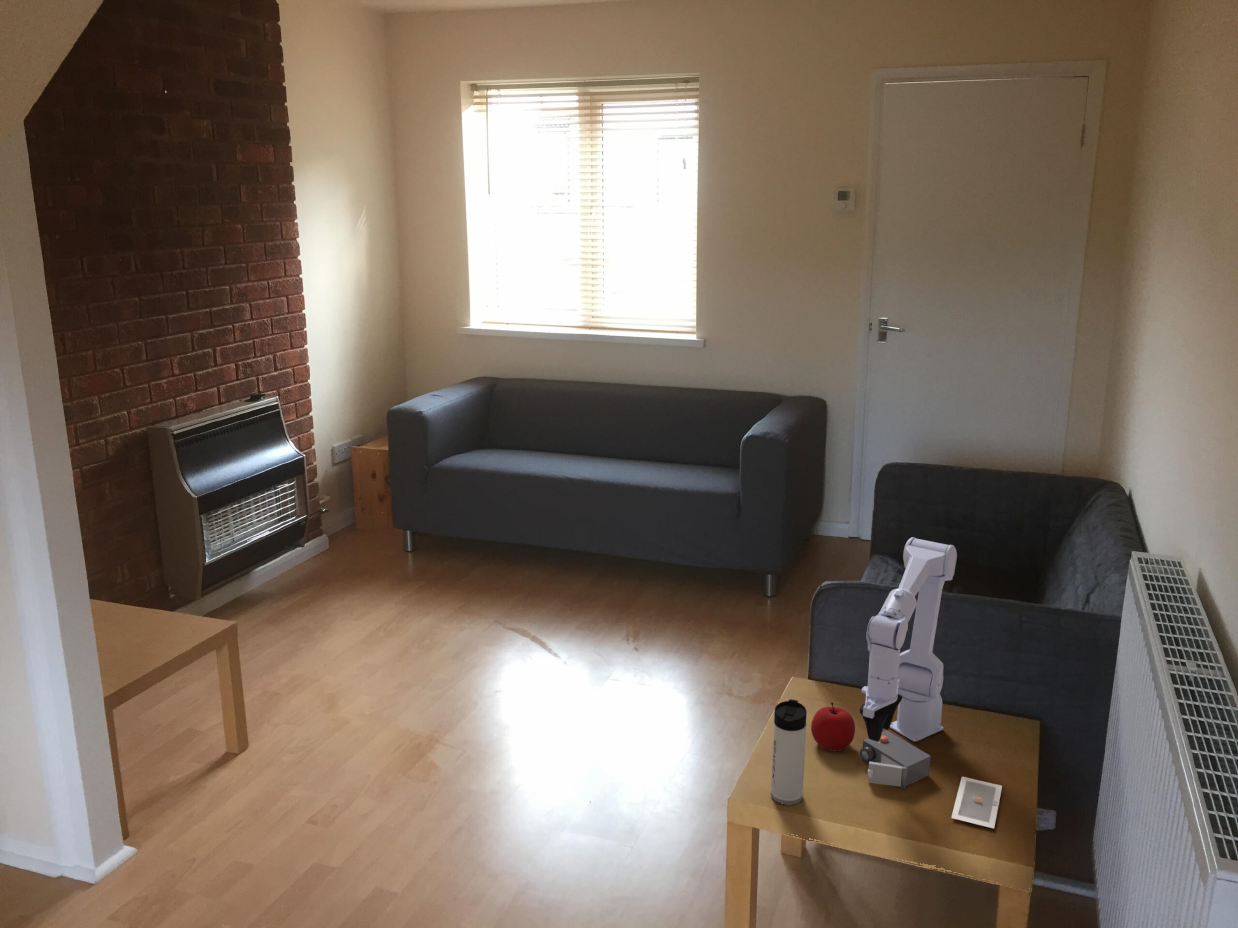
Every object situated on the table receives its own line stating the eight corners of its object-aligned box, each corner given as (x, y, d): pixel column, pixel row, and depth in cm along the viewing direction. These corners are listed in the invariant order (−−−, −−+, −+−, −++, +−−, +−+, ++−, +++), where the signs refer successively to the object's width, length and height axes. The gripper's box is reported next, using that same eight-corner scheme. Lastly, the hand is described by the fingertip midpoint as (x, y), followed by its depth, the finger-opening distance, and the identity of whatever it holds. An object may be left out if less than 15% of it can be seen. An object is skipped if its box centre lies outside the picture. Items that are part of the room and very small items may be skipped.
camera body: (885, 748, 226) (886, 727, 225) (928, 775, 217) (930, 753, 215) (855, 761, 222) (857, 739, 220) (899, 789, 212) (901, 766, 211)
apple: (808, 753, 225) (811, 712, 222) (811, 731, 233) (813, 691, 230) (853, 759, 223) (855, 717, 220) (854, 736, 231) (857, 696, 228)
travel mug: (805, 789, 212) (809, 701, 207) (799, 808, 206) (804, 718, 201) (774, 783, 214) (778, 696, 209) (767, 802, 208) (771, 712, 203)
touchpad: (950, 822, 203) (951, 812, 202) (961, 780, 216) (962, 771, 215) (993, 833, 200) (994, 823, 199) (1001, 790, 213) (1002, 781, 212)
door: (905, 786, 213) (907, 766, 212) (905, 790, 212) (907, 771, 210) (867, 780, 215) (868, 760, 214) (866, 784, 214) (868, 765, 212)
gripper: (877, 653, 217) (873, 712, 221) (849, 682, 205) (846, 743, 209) (911, 662, 213) (906, 722, 217) (884, 692, 202) (879, 754, 206)
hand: (878, 733), depth 213 cm, fingers open, 5 cm apart
